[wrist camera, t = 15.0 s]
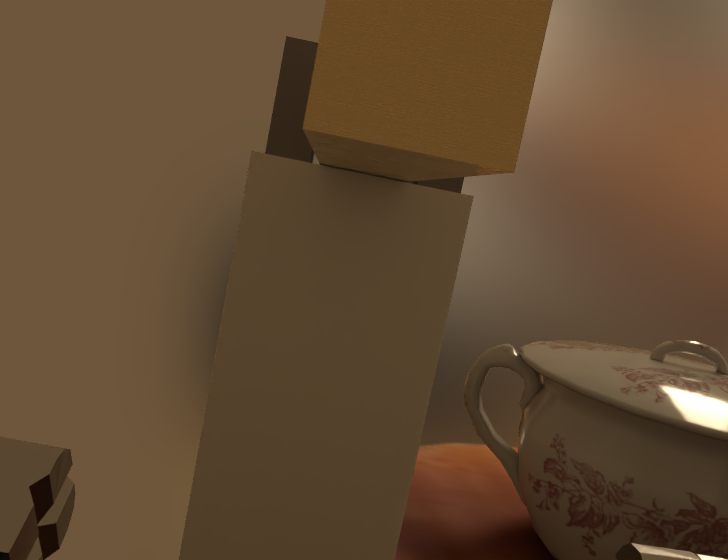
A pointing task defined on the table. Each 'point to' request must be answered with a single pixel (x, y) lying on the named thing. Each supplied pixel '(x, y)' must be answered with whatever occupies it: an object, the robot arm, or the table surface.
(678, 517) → the chamber pot
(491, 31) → the wooden rectangular plunger
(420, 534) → the table surface
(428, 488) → the table surface
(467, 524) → the table surface
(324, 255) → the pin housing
